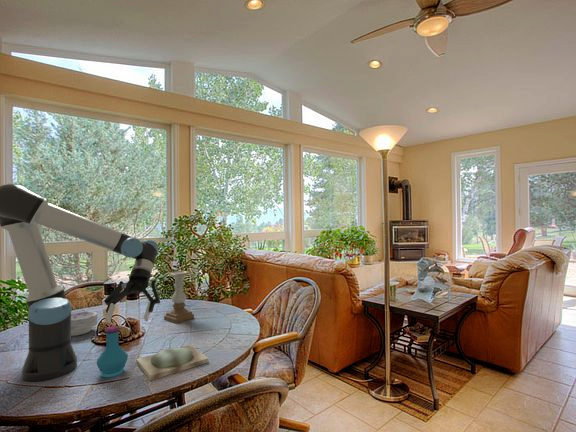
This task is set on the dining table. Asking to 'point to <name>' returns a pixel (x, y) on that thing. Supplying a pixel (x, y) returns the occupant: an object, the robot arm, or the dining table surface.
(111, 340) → the perfume bottle
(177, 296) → the candle holder
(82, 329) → the paper bowls
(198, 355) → the birch stand
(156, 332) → the dining table surface
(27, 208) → the robot arm
